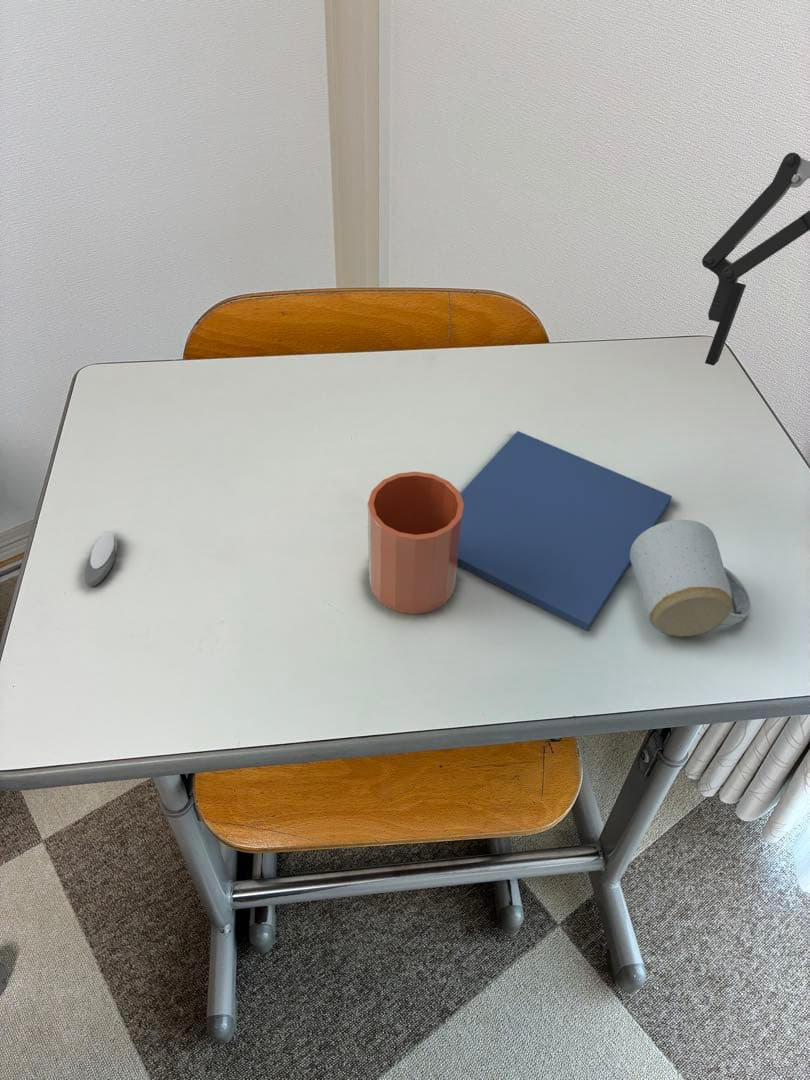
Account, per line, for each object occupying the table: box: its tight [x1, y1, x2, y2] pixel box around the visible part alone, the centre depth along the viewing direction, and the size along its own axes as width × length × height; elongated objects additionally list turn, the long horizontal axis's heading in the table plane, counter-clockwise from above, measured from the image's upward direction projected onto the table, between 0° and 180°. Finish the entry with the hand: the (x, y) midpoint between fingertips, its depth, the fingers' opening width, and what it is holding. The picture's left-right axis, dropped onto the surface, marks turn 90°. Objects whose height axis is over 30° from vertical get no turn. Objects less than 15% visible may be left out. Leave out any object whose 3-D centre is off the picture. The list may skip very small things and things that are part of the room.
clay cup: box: [367, 471, 464, 615], centre depth 71 cm, size 8×8×10 cm
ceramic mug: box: [630, 519, 752, 637], centre depth 70 cm, size 11×8×8 cm
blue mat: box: [458, 430, 673, 631], centre depth 79 cm, size 18×20×1 cm
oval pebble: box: [84, 530, 118, 587], centre depth 75 cm, size 6×2×1 cm, turn 174°
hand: (793, 385), depth 66 cm, fingers open, 13 cm apart
